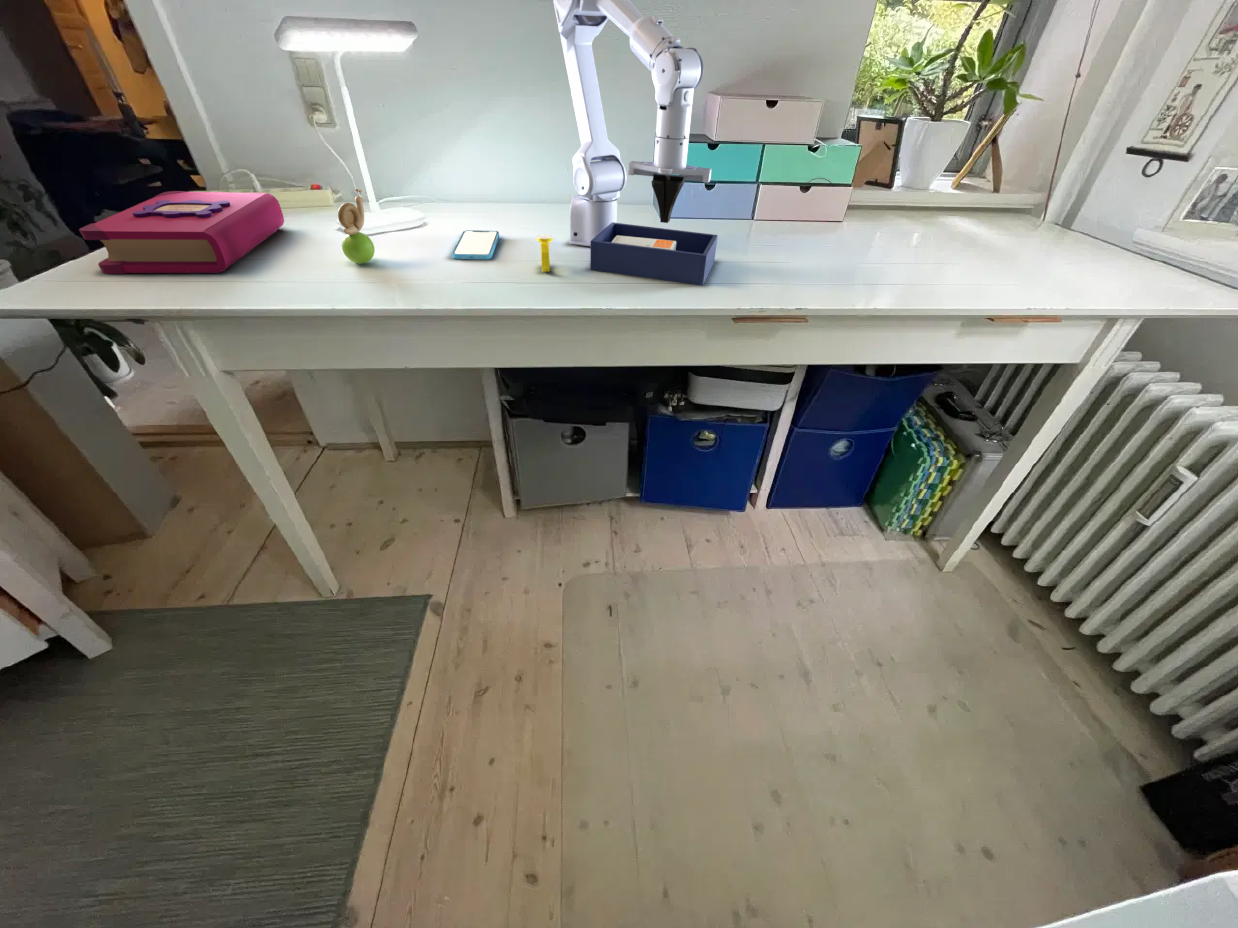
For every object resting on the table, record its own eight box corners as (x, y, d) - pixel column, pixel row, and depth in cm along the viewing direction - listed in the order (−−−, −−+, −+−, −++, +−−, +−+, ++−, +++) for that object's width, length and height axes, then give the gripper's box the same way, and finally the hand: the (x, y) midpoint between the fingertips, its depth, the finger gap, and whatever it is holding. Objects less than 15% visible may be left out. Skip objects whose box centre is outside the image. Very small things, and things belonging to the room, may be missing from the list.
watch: (553, 275, 101) (552, 242, 97) (538, 275, 101) (536, 242, 97) (553, 264, 106) (552, 232, 102) (538, 264, 105) (537, 232, 102)
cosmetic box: (672, 249, 101) (609, 243, 103) (670, 272, 104) (609, 266, 105) (676, 239, 106) (616, 234, 107) (674, 262, 108) (615, 256, 110)
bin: (590, 269, 104) (590, 241, 101) (611, 249, 114) (611, 222, 111) (702, 285, 100) (706, 255, 96) (714, 262, 110) (717, 235, 107)
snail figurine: (387, 259, 105) (371, 190, 97) (364, 269, 100) (346, 198, 92) (363, 255, 106) (346, 187, 99) (339, 265, 101) (320, 194, 94)
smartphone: (450, 254, 105) (463, 230, 117) (451, 260, 106) (464, 235, 118) (490, 255, 106) (499, 231, 117) (491, 261, 107) (499, 236, 118)
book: (287, 228, 118) (275, 189, 113) (229, 273, 96) (211, 228, 91) (182, 227, 115) (164, 187, 111) (98, 274, 94) (72, 227, 89)
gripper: (624, 136, 92) (621, 222, 100) (710, 143, 89) (700, 231, 97) (635, 131, 97) (631, 213, 105) (717, 137, 94) (706, 221, 102)
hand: (665, 221), depth 102 cm, fingers closed
